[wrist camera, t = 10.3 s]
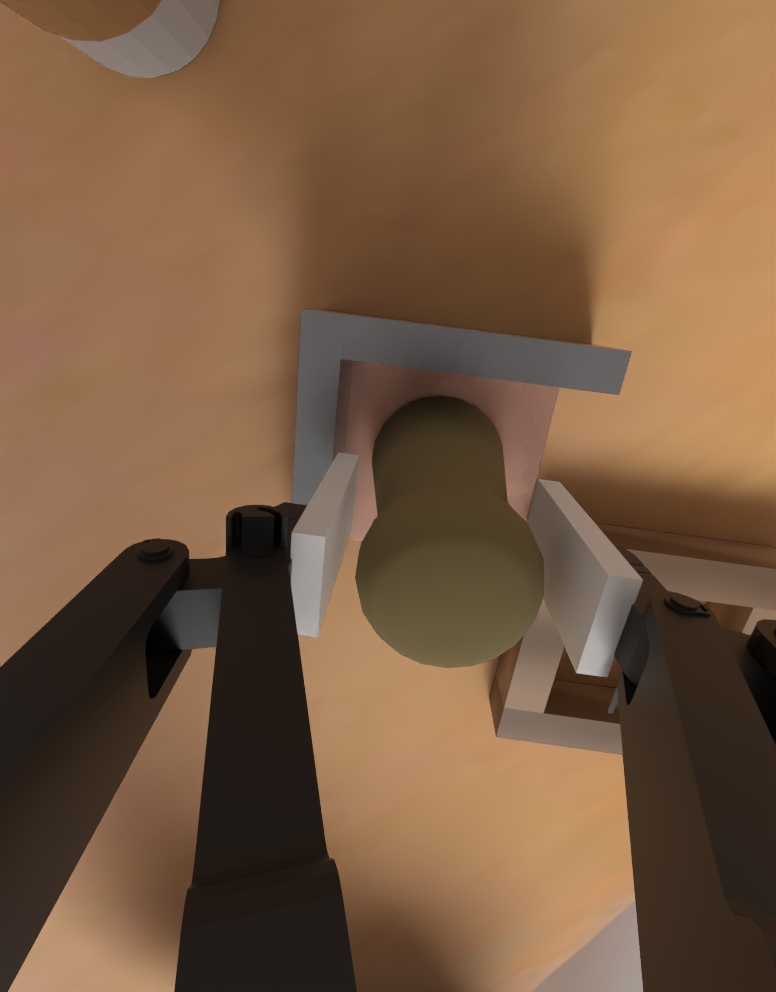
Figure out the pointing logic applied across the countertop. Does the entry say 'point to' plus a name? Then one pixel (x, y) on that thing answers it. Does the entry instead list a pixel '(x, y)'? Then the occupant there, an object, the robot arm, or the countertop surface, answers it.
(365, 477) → the corner cradle
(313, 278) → the countertop surface
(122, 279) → the countertop surface
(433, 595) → the olive stamp handle
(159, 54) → the coffee cup
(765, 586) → the socket block
